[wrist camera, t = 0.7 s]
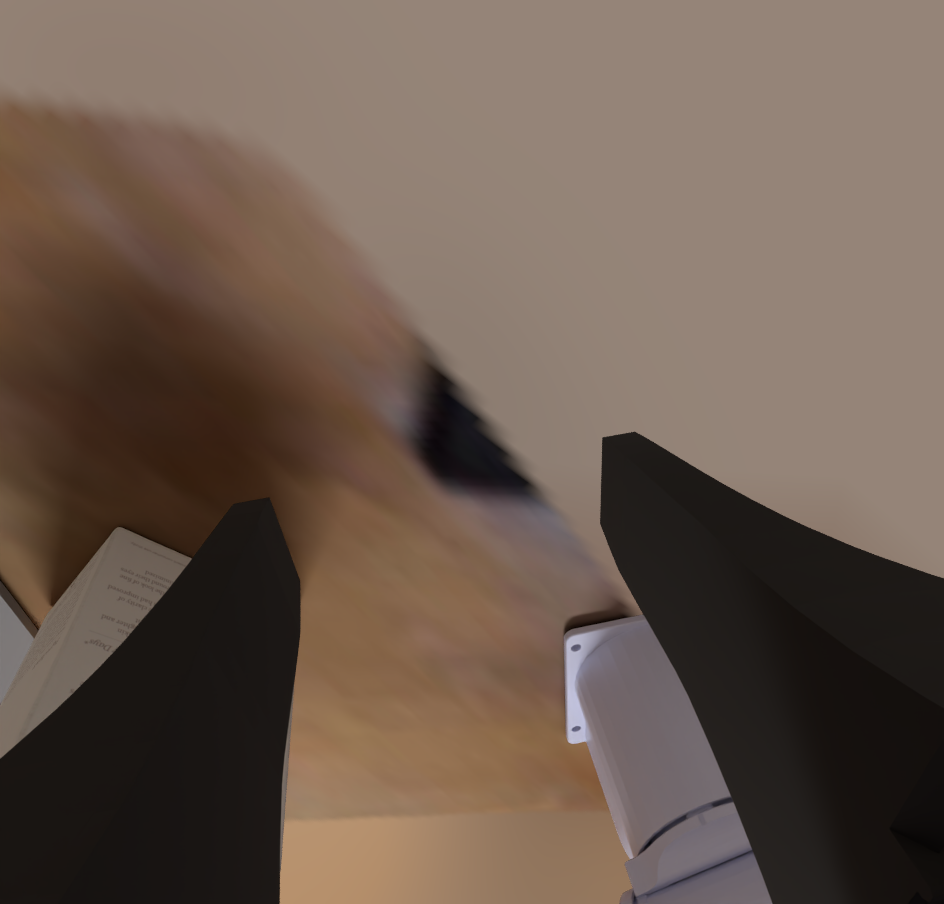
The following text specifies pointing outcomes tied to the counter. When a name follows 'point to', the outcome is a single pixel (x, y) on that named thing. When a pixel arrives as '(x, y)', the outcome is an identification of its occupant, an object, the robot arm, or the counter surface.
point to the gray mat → (12, 638)
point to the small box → (93, 632)
